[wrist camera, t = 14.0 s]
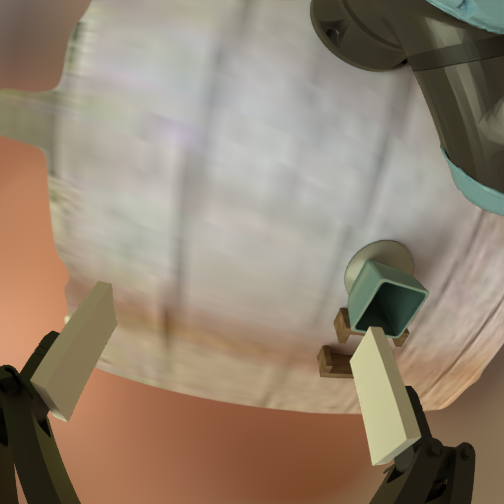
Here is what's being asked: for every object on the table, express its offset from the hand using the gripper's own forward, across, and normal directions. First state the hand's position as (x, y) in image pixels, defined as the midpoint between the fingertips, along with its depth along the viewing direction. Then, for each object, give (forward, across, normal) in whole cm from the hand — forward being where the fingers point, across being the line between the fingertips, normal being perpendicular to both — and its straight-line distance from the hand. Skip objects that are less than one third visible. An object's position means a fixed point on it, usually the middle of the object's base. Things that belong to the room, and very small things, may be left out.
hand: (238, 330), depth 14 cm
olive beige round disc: (+27, +22, -10) cm, 36 cm away
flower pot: (+26, +20, -10) cm, 35 cm away
